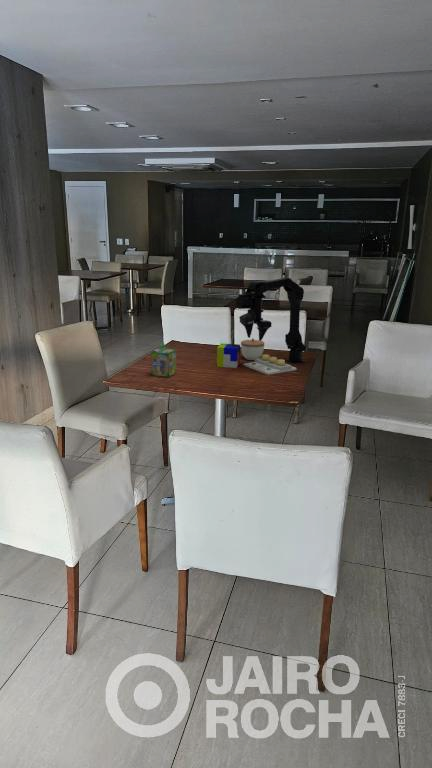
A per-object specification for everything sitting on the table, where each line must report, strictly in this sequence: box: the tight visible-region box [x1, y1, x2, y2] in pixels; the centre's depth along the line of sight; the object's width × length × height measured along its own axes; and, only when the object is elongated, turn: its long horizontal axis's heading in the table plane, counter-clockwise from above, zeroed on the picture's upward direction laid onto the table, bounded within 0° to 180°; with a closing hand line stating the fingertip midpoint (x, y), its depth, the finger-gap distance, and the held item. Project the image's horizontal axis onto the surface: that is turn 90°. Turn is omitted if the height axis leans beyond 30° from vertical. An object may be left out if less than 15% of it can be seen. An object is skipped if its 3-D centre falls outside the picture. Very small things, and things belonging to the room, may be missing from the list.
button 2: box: [277, 358, 286, 366], centre depth 246 cm, size 4×4×3 cm
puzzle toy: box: [216, 343, 241, 369], centre depth 253 cm, size 10×10×10 cm
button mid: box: [269, 356, 278, 364], centre depth 251 cm, size 4×4×3 cm
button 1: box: [261, 353, 270, 361], centre depth 255 cm, size 4×4×3 cm
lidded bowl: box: [240, 338, 265, 361], centre depth 267 cm, size 13×13×11 cm
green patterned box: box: [150, 342, 177, 378], centre depth 233 cm, size 9×9×15 cm
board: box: [243, 357, 297, 376], centre depth 250 cm, size 18×20×3 cm
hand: (254, 339), depth 246 cm, fingers open, 9 cm apart
